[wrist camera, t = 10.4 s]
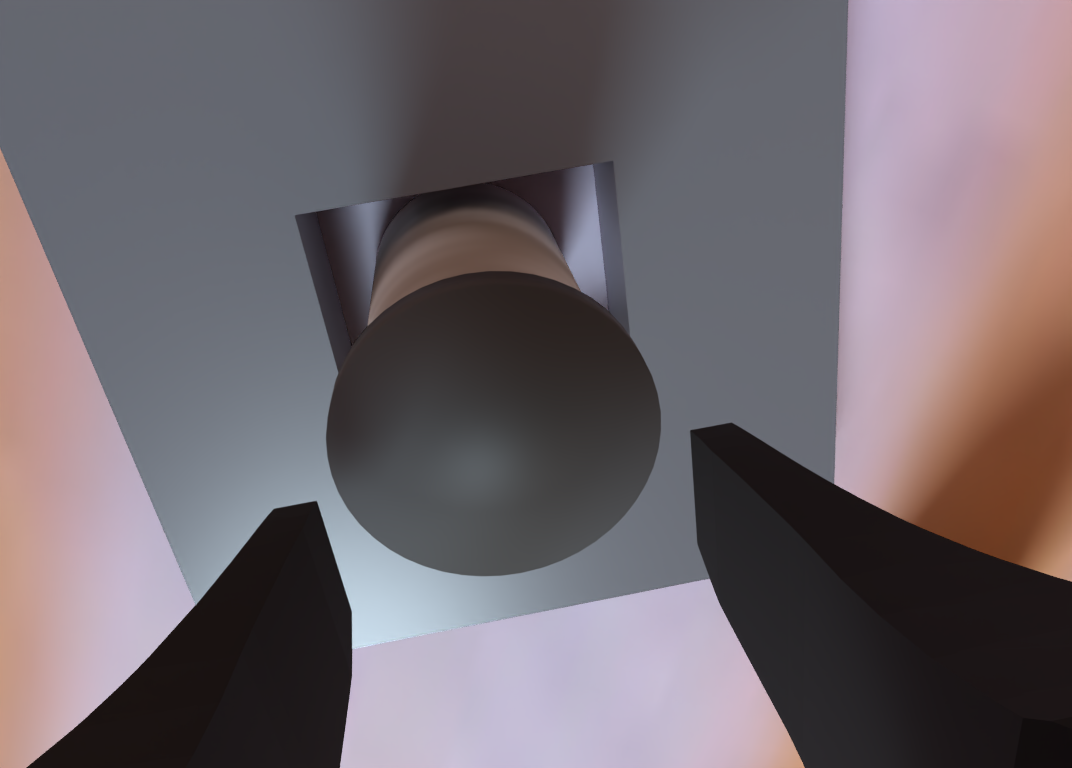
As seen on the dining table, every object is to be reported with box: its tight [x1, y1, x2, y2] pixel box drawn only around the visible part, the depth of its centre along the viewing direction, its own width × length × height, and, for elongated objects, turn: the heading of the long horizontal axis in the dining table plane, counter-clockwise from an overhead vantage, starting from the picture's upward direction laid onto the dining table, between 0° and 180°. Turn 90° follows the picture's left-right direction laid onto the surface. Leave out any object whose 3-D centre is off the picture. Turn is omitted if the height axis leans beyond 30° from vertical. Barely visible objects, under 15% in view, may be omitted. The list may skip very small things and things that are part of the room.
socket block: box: [0, 0, 848, 649], centre depth 19 cm, size 16×16×2 cm
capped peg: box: [326, 183, 661, 576], centre depth 17 cm, size 5×5×8 cm
